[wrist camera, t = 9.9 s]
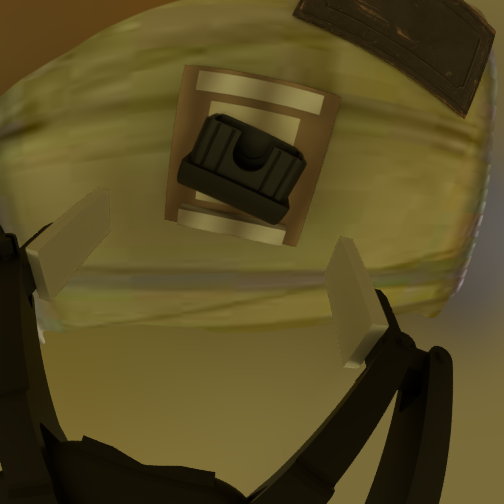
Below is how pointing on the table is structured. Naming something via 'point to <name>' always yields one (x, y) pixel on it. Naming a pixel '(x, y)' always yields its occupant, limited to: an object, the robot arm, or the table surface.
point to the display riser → (263, 118)
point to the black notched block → (242, 168)
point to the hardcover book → (415, 40)
